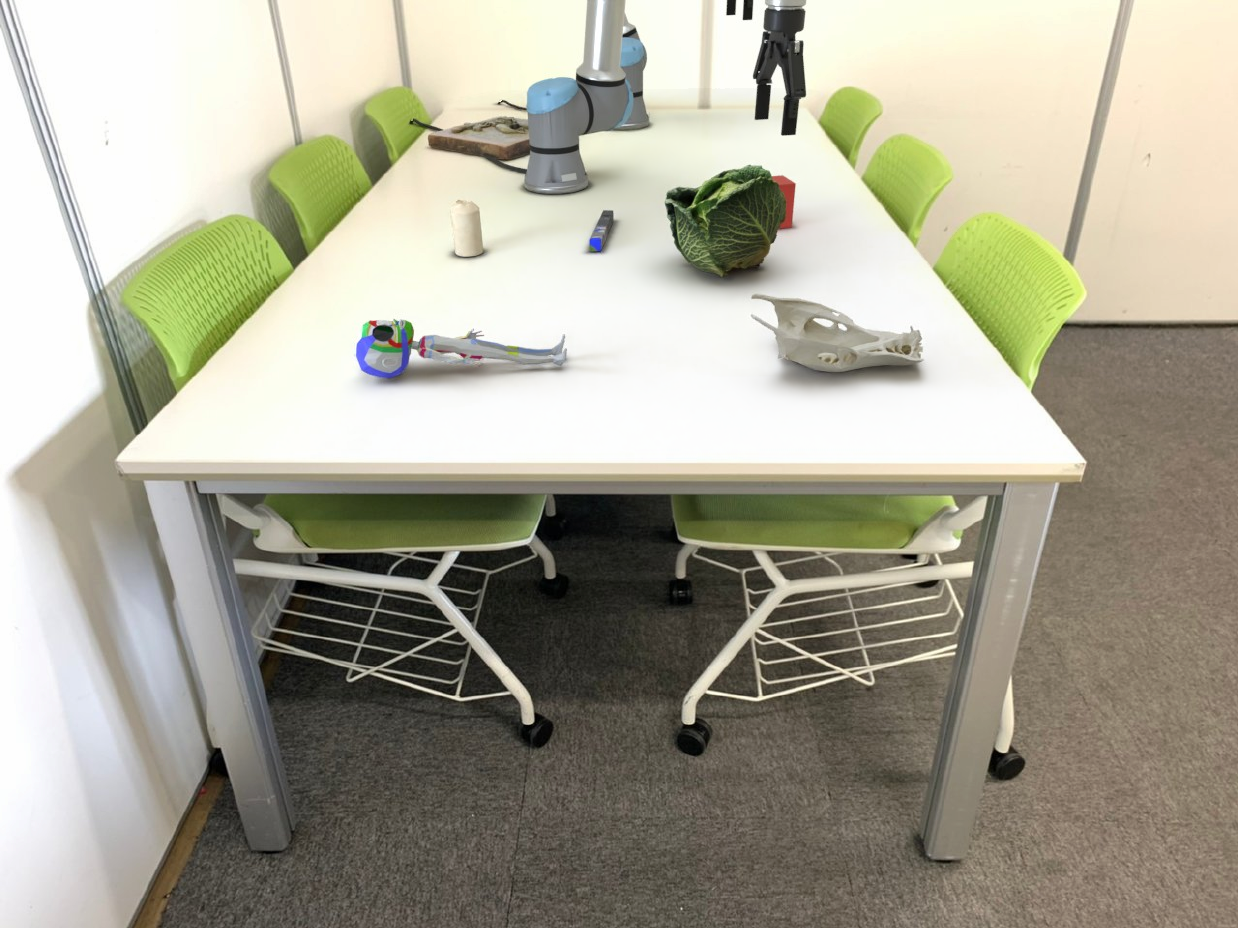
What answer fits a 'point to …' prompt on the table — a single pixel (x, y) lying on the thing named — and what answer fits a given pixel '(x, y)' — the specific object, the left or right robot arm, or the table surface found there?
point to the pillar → (601, 230)
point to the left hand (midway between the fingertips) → (774, 127)
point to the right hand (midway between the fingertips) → (738, 17)
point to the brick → (789, 193)
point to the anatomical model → (835, 339)
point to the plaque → (486, 138)
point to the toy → (435, 349)
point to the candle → (466, 228)
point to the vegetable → (727, 219)
